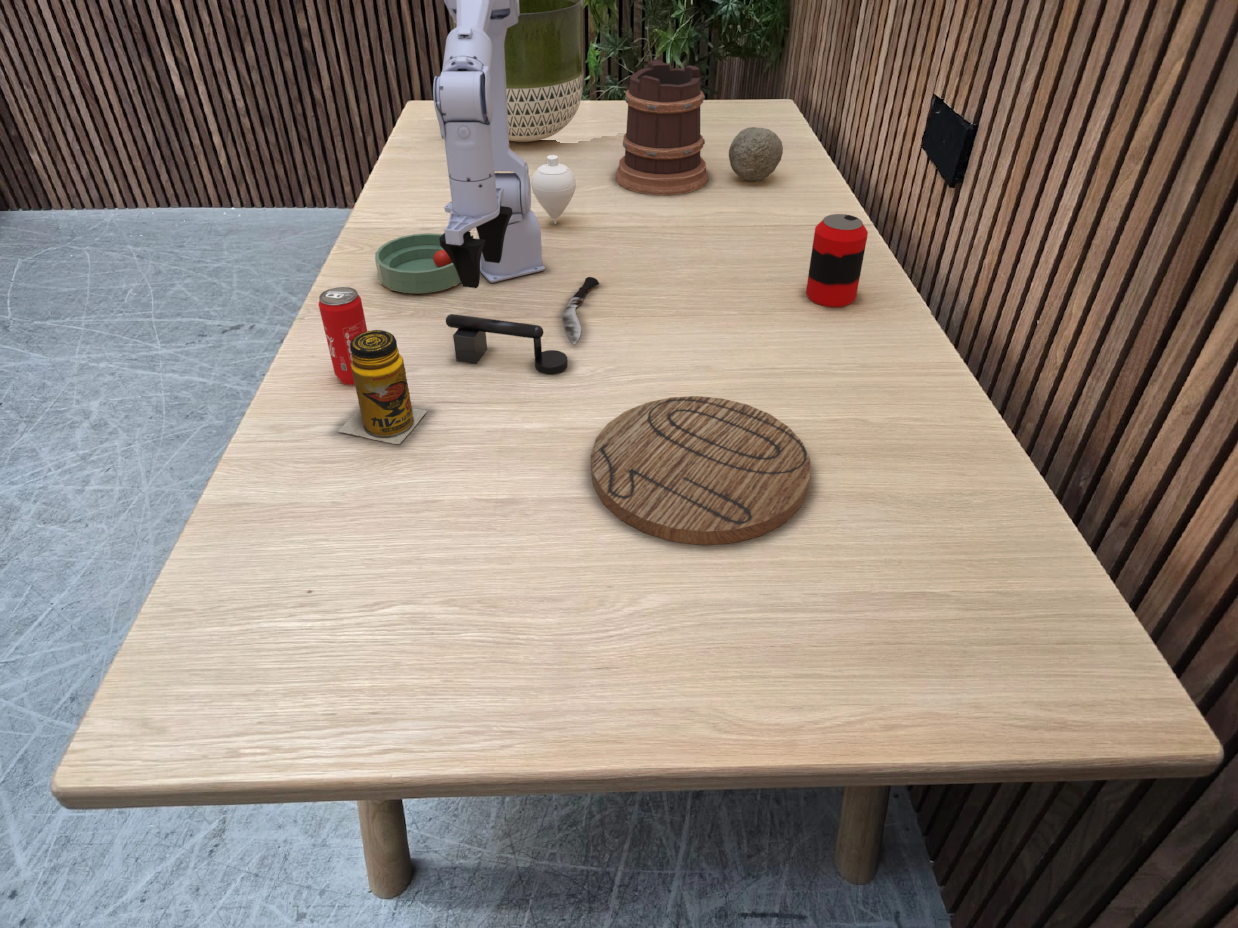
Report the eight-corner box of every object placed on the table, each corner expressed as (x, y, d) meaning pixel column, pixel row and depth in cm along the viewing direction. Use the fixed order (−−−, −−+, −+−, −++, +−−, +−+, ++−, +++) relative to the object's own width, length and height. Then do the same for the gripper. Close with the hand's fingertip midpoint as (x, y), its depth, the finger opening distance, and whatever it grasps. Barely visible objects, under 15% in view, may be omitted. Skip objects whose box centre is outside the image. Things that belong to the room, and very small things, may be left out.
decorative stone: (729, 189, 170) (734, 136, 164) (724, 173, 177) (728, 121, 171) (783, 188, 171) (789, 136, 164) (775, 172, 177) (781, 121, 171)
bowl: (451, 249, 149) (448, 226, 147) (483, 283, 139) (480, 259, 137) (368, 267, 144) (363, 244, 141) (395, 304, 134) (391, 280, 132)
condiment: (399, 445, 106) (383, 359, 99) (337, 432, 108) (317, 347, 101) (428, 412, 112) (414, 328, 104) (368, 400, 114) (350, 317, 106)
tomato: (439, 264, 144) (455, 256, 143) (440, 276, 142) (457, 267, 142) (429, 251, 142) (445, 243, 141) (430, 263, 140) (446, 254, 139)
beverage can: (366, 389, 116) (348, 307, 108) (329, 384, 117) (309, 303, 109) (382, 368, 120) (366, 287, 112) (346, 364, 121) (328, 284, 113)
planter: (465, 118, 204) (452, -13, 187) (581, 115, 206) (578, -15, 189) (462, 159, 183) (446, 16, 166) (590, 154, 185) (588, 12, 169)
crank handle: (571, 359, 122) (570, 321, 118) (562, 376, 118) (560, 338, 115) (456, 344, 125) (451, 306, 121) (444, 360, 122) (438, 322, 118)
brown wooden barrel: (696, 152, 186) (701, 50, 174) (717, 193, 169) (725, 82, 156) (608, 155, 185) (607, 52, 172) (620, 197, 167) (620, 86, 155)
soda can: (865, 295, 136) (879, 221, 129) (838, 313, 132) (851, 237, 124) (823, 280, 140) (834, 207, 133) (795, 297, 136) (806, 222, 128)
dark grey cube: (487, 349, 124) (485, 323, 121) (476, 364, 121) (473, 338, 118) (467, 346, 124) (464, 320, 122) (456, 361, 121) (452, 335, 119)
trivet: (750, 577, 89) (752, 564, 88) (548, 492, 99) (547, 479, 98) (841, 449, 106) (843, 436, 105) (659, 387, 116) (659, 375, 115)
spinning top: (526, 229, 156) (521, 160, 148) (545, 213, 161) (541, 146, 154) (566, 235, 153) (563, 167, 146) (583, 219, 159) (582, 152, 152)
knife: (593, 339, 124) (557, 341, 124) (593, 348, 125) (558, 349, 125) (599, 276, 138) (567, 277, 139) (600, 284, 139) (568, 285, 139)
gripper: (465, 151, 117) (475, 247, 125) (416, 191, 106) (431, 294, 114) (515, 156, 115) (522, 253, 124) (471, 197, 105) (482, 301, 113)
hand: (482, 273), depth 119 cm, fingers open, 7 cm apart
